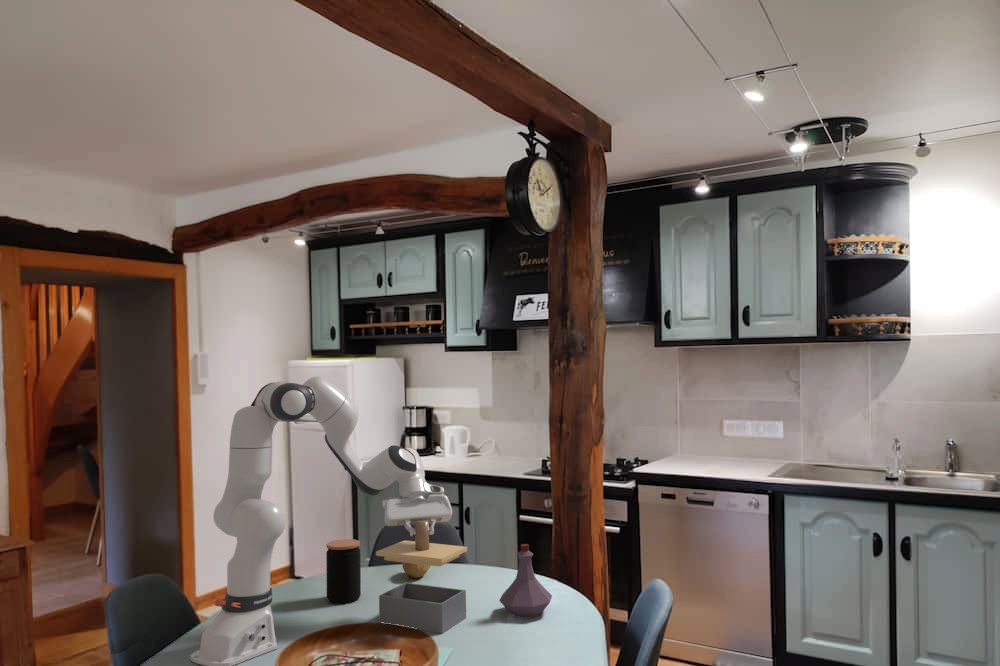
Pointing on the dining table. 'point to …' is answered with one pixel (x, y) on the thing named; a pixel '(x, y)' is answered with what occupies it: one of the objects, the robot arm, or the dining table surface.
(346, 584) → the coffee jar
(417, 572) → the potato
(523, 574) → the flask
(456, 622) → the tub
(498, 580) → the dining table surface
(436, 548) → the lid
